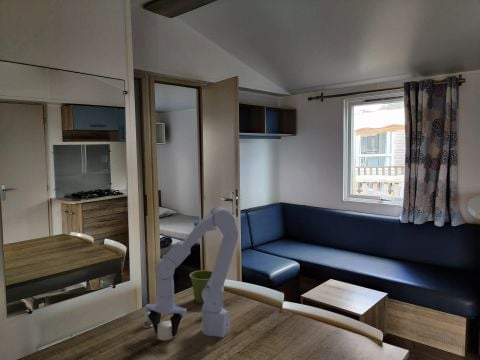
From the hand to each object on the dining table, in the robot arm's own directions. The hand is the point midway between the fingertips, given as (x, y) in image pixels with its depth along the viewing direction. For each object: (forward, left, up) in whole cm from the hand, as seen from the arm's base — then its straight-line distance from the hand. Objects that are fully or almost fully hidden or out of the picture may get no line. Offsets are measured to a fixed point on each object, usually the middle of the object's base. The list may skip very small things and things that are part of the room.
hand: (166, 333), depth 126 cm
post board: (+4, -2, -2) cm, 5 cm away
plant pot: (+3, -34, -2) cm, 34 cm away
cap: (0, 0, -1) cm, 1 cm away
